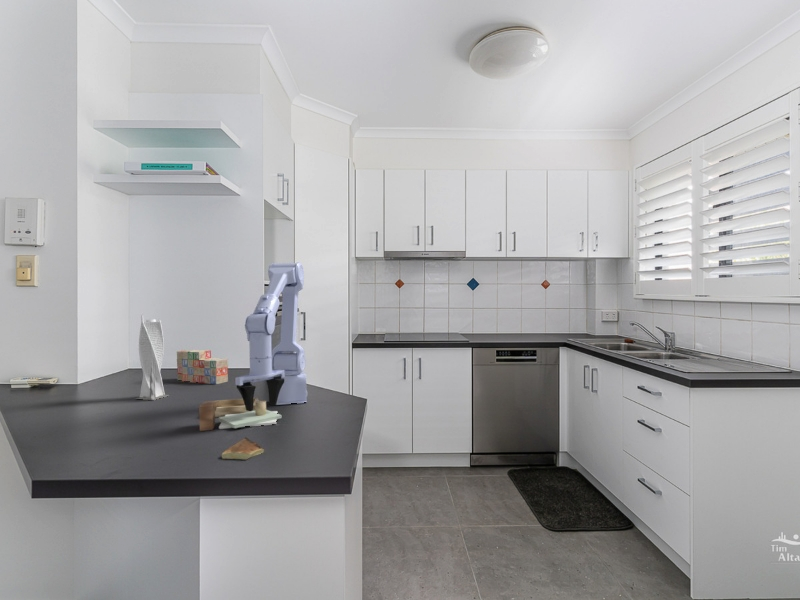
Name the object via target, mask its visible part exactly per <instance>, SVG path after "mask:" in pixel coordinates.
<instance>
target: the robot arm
mask: <svg viewBox="0 0 800 600" xmlns="http://www.w3.org/2000/svg"><path fill="white" fill-rule="evenodd" d="M267 271H268V272H267V275H268V279H269V283H268V285H267V286H268V287H267V289H266V292H265V293H264V294H261V296H260V297H259V300H258V302H257V304H256V306H255V308H254V311H253V313H250V314H249V315H248V316H247V317H246V318H245V324H244V328H245V329H244V330H245V332H246V339H247V341H248V342H249V373H247V374H243V375H241V376H236V377H235V379H234V380H235V386H236V389H237V390H238V392H239V394H240V395H241V399H243V401H244V404H245V407H246V410H247V411H253V398H255V390H256V388H257V386H256V385H253V384H252V383H259V382H262V381H266V384H267V389H268V403H269V405H271V406H279V405H280V406H281V405H292V404H291V403H297V404H305V403H304V402H307V403H308V401H307V400H308V399H307V397H308V390H307V373H303V371H304V370H305V367H306V357H305V354H306V353H305V352H306V351H305V349H304V348H303V347H302V346H301V345H300V344H298V342H297V332H298V331H297V329H298V328H297V325H298V306H299V304H298V303H299V292H300V291H302V290H303V289H304V284H305V280H304V279H305V271H304V267H303V264H302V263H301V262H287V263H286V262H276V263H275V262H272V263H270V265H269V266H268V269H267ZM281 293H282V303H280V298H279V297H280V296H281ZM280 304H281V322H280V323H281V324H280V342H279V343H277V345H275V347H273V348H272V334H273V333H274V331H275V328H276V315H277V312H278V309H279V308H280Z"/></svg>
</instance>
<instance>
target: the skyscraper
mask: <svg viewBox="0 0 800 600" xmlns="http://www.w3.org/2000/svg"><path fill="white" fill-rule="evenodd" d="M140 316H141V317H140V318H141V323H140V329H139V338H138V354H139V361H140V366H141V369H142V374H143V375H142V381H141V387H140V394H139V397H136V398H135V399H143V400H142V401H148V400H154V401H156V399H157V400H160V399H159V398H161V399H163V397H164V398H168V397H169V396H170V395H169V394H166V393H165V388H164V385H163V383H164V382H163V379H162V375H161V369H162V366H163V360H164V356H165V355H164V353H165V339H164V331H163V325H162V320H161V319H160V318H159V319H158V320H156V318H146V319H145V321H144V315H143V314H141V315H140ZM167 396H168V397H167Z"/></svg>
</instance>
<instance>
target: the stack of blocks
mask: <svg viewBox="0 0 800 600" xmlns="http://www.w3.org/2000/svg"><path fill="white" fill-rule="evenodd" d="M211 352H212V351H211V350H207V349H184V350H179V351H176V367H177V368H176V369H177V375H176V376H177V381H178V380H182V381H181V382H184V381H190V382H189V383H196V382H198V383H199V384H209V385H210V384H211V385H219V384H223V383H227V382H229V375H228V374H229V368H228V366H229V363H228V362H229V361H228V360H229V358H221V357H220V358H218V357H212V353H211ZM198 383H197V384H198Z"/></svg>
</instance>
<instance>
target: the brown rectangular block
mask: <svg viewBox="0 0 800 600" xmlns="http://www.w3.org/2000/svg"><path fill="white" fill-rule="evenodd" d="M198 409H199V410H198V411H199V414H198V415H199V418H198V419H199V431H201V432H202V431H212V430H214V428H215V426H216V417H215V411H216V409H217V402H216V400H209V401H206V400H205V401H203V403H201V404H200V405H199V407H198Z"/></svg>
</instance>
